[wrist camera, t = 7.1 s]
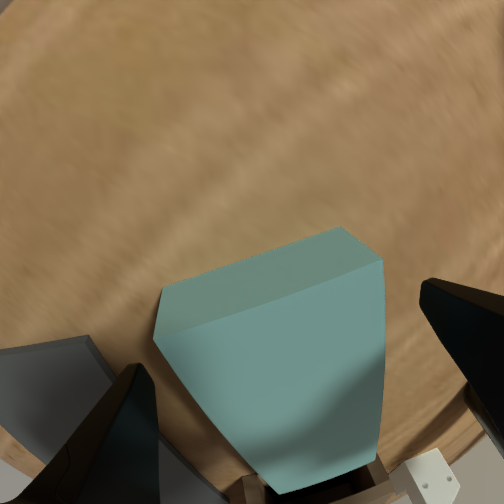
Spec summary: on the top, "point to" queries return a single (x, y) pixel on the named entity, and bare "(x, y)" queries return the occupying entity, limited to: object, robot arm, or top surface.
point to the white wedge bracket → (426, 479)
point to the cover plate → (286, 355)
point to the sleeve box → (338, 498)
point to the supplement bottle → (483, 418)
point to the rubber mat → (77, 409)
